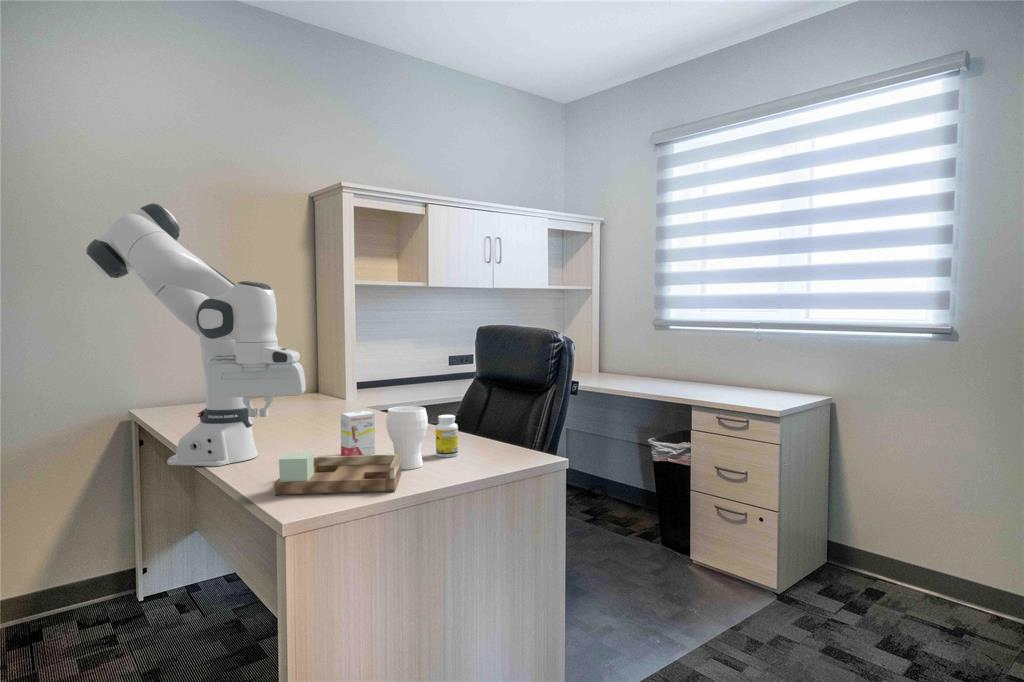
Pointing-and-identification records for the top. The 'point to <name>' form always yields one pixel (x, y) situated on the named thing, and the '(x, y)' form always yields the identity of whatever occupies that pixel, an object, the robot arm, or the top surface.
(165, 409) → the top surface
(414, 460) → the cup
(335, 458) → the wooden tray
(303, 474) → the block
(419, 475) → the top surface
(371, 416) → the ink box
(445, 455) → the pill bottle
